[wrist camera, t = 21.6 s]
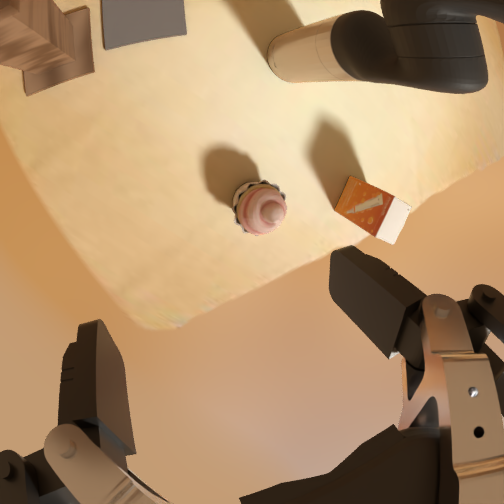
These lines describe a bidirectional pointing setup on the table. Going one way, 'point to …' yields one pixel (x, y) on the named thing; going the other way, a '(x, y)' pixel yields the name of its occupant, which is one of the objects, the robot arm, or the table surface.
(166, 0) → the mat
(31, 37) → the wooden pedestal column
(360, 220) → the small box
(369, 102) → the table surface
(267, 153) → the table surface
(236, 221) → the cupcake
